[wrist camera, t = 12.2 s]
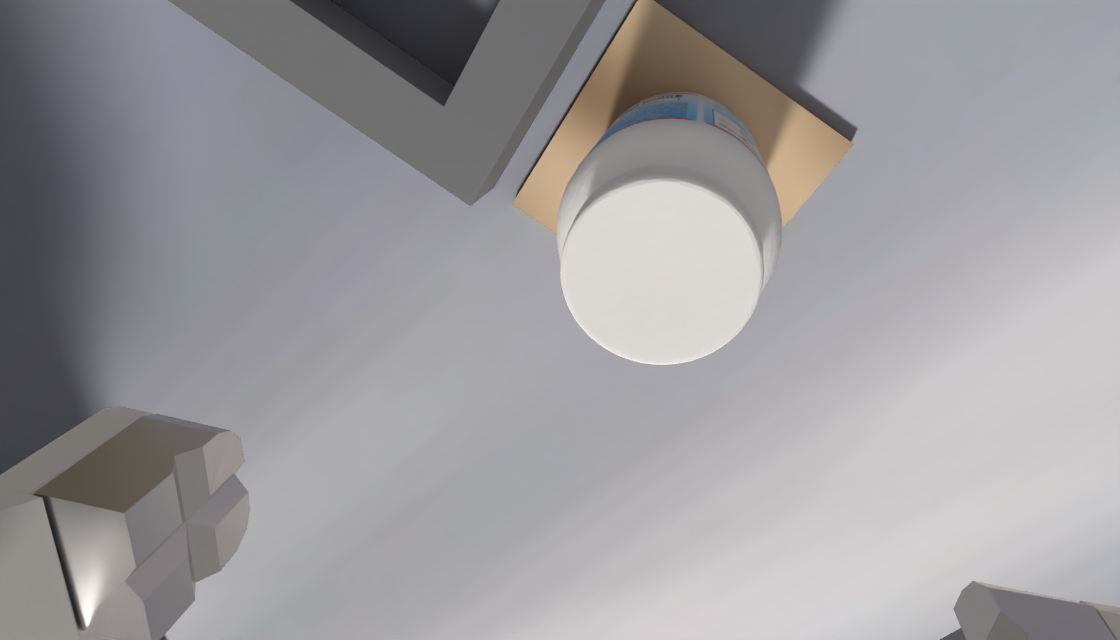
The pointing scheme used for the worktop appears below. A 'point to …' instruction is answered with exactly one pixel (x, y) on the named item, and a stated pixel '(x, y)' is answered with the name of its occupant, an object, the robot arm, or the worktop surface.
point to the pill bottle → (668, 231)
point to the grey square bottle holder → (415, 78)
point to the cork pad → (683, 66)
